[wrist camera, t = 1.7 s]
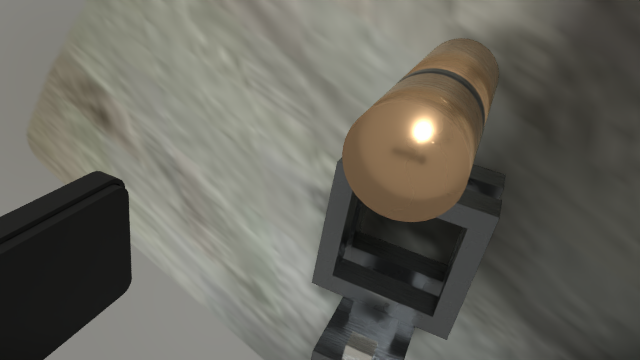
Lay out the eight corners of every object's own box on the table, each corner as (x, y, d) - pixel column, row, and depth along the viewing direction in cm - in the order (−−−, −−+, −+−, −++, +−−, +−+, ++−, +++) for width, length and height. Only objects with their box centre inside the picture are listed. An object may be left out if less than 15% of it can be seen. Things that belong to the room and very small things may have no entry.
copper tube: (433, 30, 27) (355, 86, 16) (510, 49, 26) (488, 125, 14) (413, 101, 29) (332, 197, 18) (483, 121, 28) (446, 239, 17)
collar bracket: (506, 168, 29) (493, 255, 20) (444, 317, 35) (415, 430, 27) (372, 126, 31) (311, 188, 23) (336, 272, 37) (279, 364, 29)
